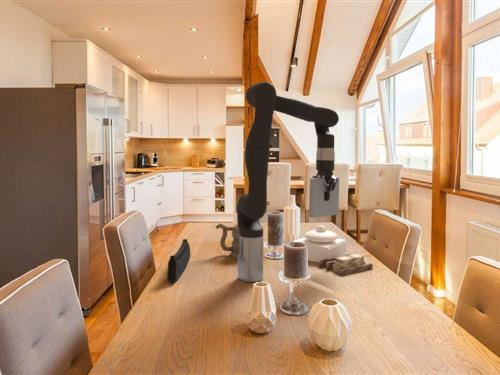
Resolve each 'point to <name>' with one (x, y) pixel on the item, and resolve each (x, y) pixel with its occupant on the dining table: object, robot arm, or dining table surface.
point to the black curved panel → (178, 262)
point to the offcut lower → (338, 268)
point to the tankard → (236, 239)
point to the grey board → (322, 199)
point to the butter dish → (323, 244)
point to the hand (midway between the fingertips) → (324, 200)
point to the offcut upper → (349, 260)
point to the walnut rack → (328, 266)
